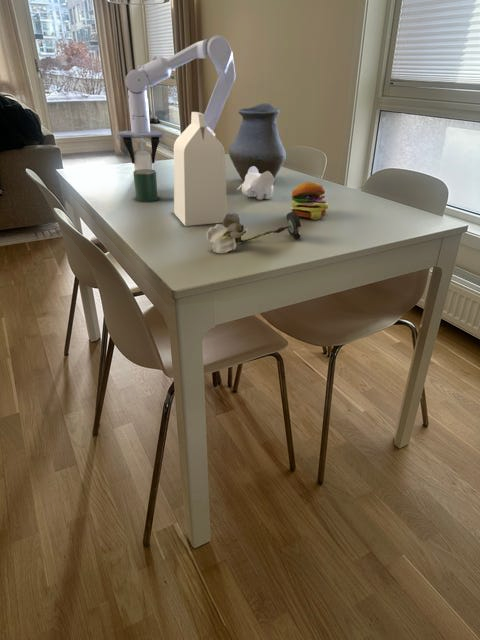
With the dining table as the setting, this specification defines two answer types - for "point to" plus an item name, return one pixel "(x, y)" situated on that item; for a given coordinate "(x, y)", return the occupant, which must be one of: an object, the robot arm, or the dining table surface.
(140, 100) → the robot arm
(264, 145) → the grey clay vase
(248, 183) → the elephant figurine
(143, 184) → the green tin can
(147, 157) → the eye dropper bottle
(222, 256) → the dining table surface
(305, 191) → the cheeseburger
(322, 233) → the dining table surface
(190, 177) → the milk
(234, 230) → the artificial flower
